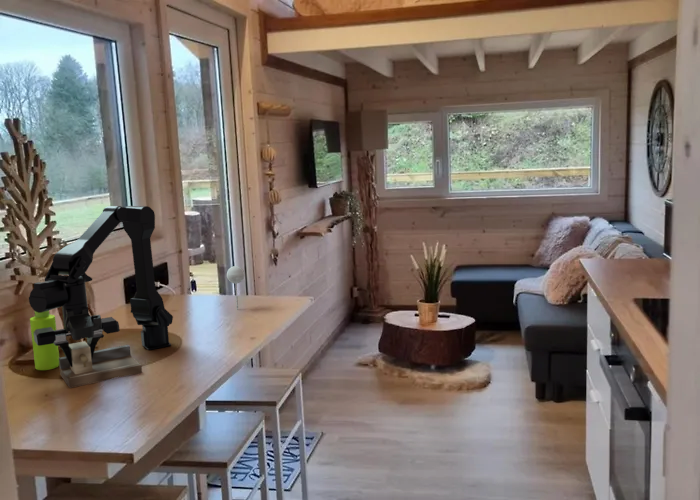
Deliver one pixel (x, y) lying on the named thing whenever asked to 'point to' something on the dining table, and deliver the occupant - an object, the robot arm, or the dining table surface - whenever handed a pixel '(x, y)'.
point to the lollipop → (235, 277)
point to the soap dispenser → (44, 354)
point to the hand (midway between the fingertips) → (80, 364)
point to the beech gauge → (80, 357)
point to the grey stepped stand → (102, 367)
